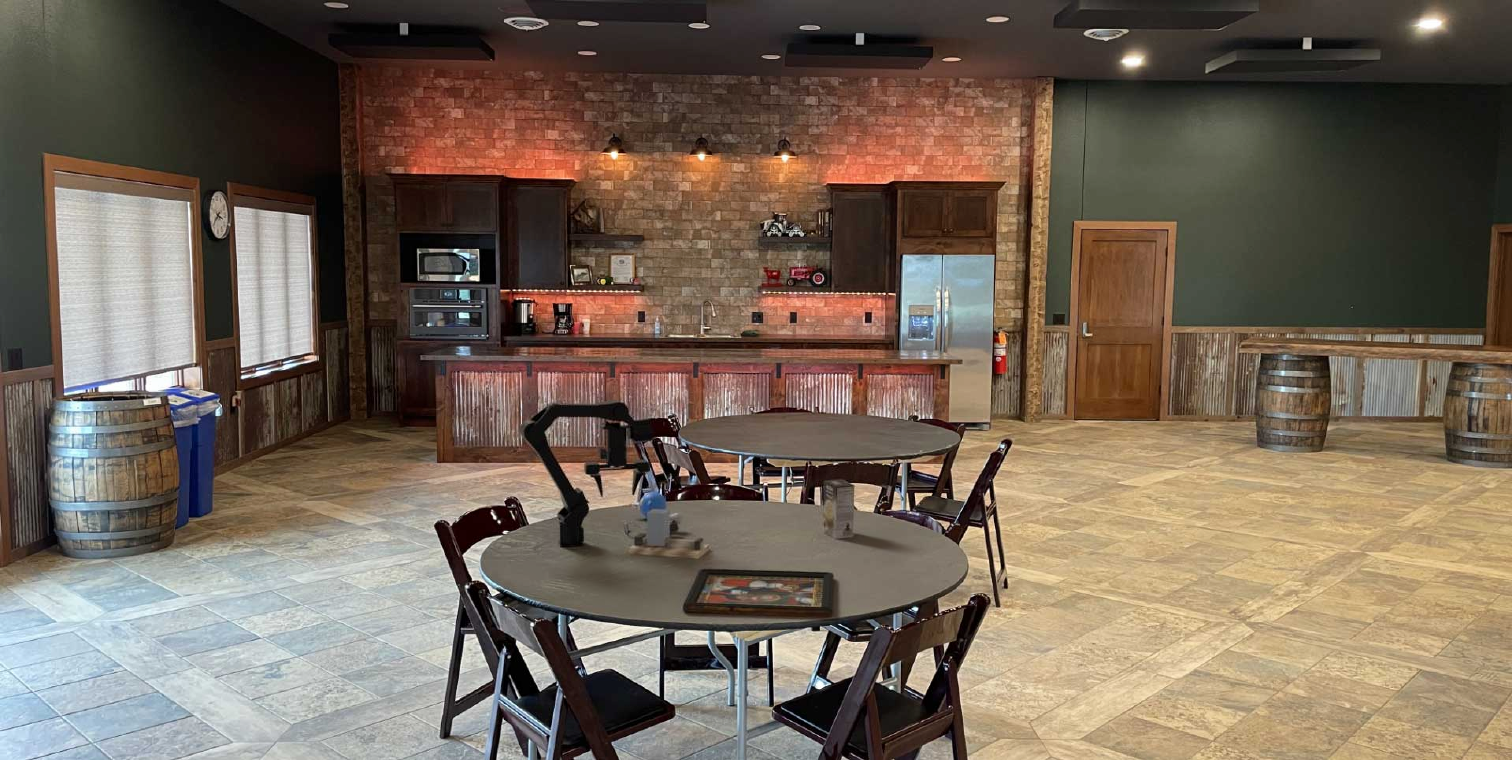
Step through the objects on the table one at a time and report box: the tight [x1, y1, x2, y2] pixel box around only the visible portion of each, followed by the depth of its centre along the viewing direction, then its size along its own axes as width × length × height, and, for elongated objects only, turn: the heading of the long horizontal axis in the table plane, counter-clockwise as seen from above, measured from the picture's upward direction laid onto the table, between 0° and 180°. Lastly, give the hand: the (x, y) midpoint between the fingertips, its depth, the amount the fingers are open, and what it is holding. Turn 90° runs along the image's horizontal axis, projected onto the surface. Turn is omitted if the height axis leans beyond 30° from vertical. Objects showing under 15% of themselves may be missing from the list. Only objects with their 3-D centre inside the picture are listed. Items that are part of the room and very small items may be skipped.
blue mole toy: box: [628, 491, 667, 518], centre depth 338 cm, size 12×12×8 cm
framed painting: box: [682, 568, 835, 618], centre depth 260 cm, size 38×35×3 cm
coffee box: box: [822, 478, 855, 540], centre depth 318 cm, size 9×6×16 cm
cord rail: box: [628, 533, 710, 560], centre depth 299 cm, size 20×11×4 cm, turn 75°
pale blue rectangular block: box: [646, 509, 671, 546], centre depth 299 cm, size 5×5×9 cm
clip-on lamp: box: [623, 512, 683, 534], centre depth 319 cm, size 12×6×18 cm
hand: (617, 495), depth 311 cm, fingers open, 9 cm apart
